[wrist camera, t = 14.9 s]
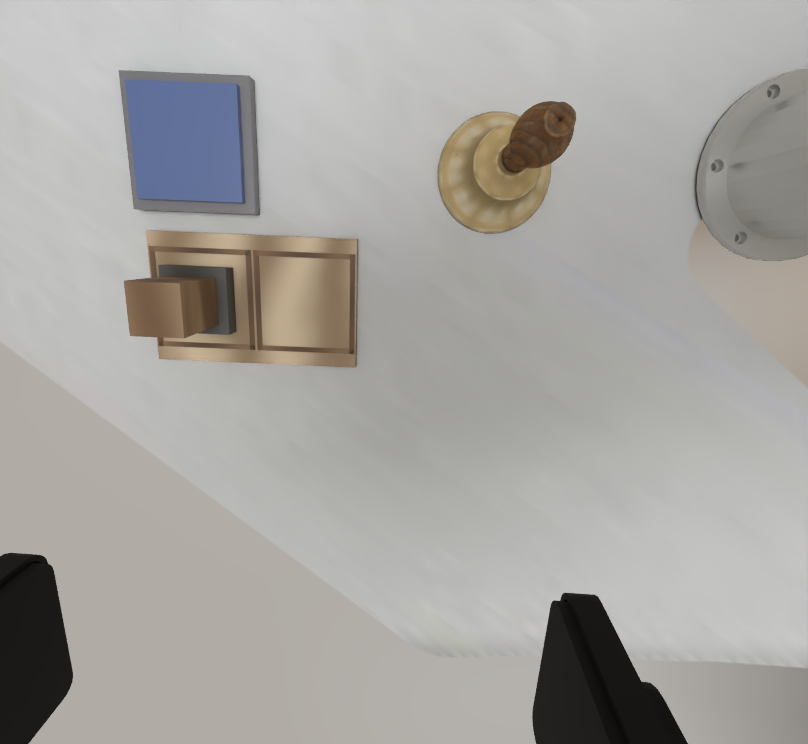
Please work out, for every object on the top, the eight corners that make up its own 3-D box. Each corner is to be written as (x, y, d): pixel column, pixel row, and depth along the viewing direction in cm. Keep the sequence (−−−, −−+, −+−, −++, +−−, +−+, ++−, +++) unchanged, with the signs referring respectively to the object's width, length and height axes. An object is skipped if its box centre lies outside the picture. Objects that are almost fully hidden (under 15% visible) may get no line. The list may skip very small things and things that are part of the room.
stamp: (233, 267, 35) (190, 271, 28) (236, 331, 36) (196, 350, 29) (168, 264, 35) (110, 267, 28) (174, 328, 36) (120, 346, 29)
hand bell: (546, 232, 34) (655, 219, 19) (437, 234, 35) (458, 222, 19) (554, 111, 32) (684, -14, 17) (437, 113, 32) (462, -9, 17)
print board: (357, 239, 35) (356, 239, 34) (356, 365, 37) (355, 367, 37) (150, 230, 35) (145, 230, 34) (163, 357, 37) (158, 359, 37)
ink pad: (254, 80, 32) (246, 72, 31) (259, 214, 34) (252, 213, 33) (127, 75, 32) (113, 67, 31) (141, 209, 34) (129, 208, 33)
